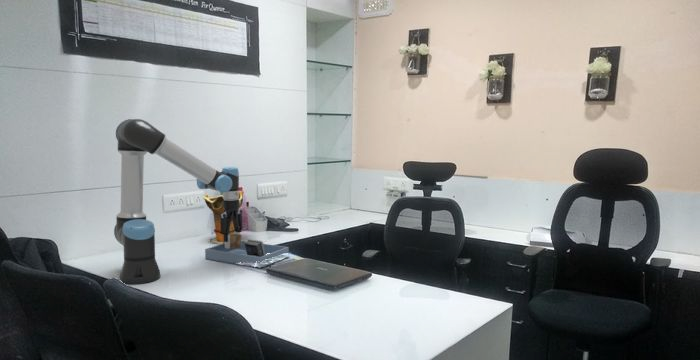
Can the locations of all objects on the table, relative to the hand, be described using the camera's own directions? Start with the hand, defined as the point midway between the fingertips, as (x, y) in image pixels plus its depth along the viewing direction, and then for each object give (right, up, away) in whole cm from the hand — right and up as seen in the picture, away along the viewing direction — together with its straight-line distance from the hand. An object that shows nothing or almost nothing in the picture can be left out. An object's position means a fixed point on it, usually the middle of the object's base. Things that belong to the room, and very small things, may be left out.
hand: (232, 246), depth 234 cm
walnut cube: (0, 0, 0) cm, 0 cm away
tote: (+8, -5, -4) cm, 10 cm away
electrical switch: (+13, -5, -6) cm, 15 cm away
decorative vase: (-11, -1, +33) cm, 35 cm away
